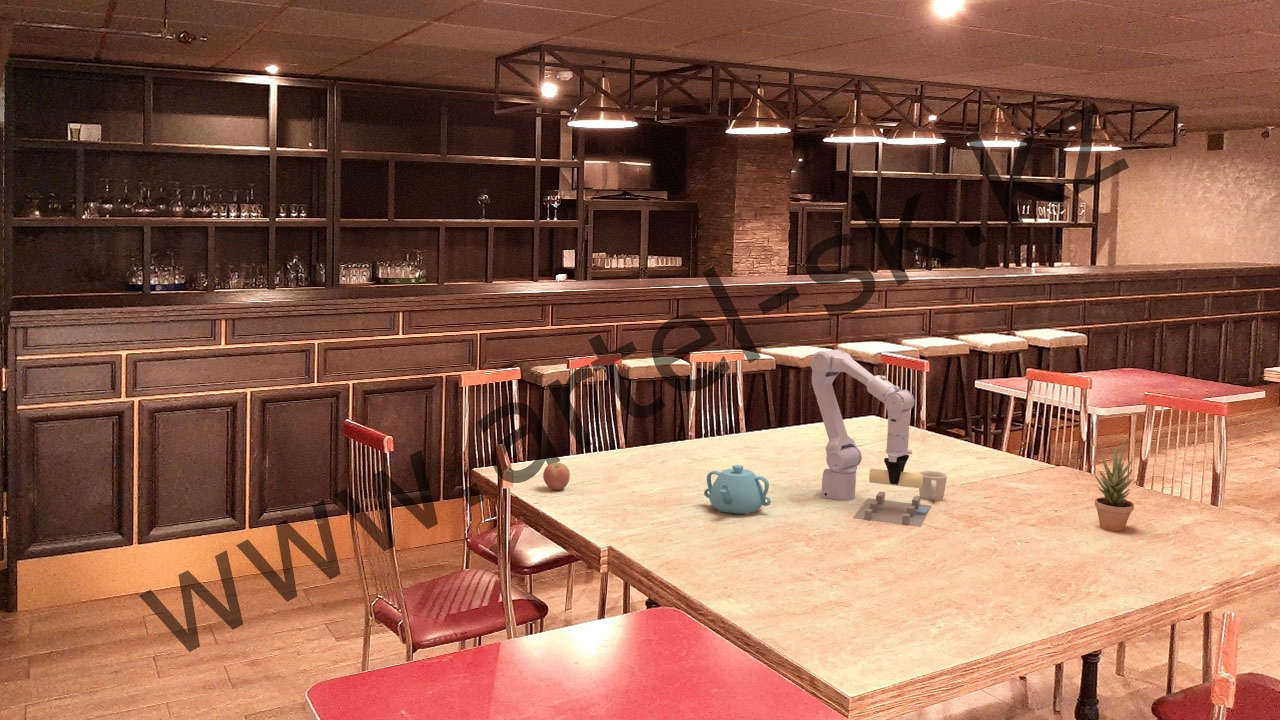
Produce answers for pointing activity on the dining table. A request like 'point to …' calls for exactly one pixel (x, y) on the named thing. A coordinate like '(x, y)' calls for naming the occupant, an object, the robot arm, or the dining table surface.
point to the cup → (933, 485)
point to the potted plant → (1114, 496)
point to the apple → (556, 476)
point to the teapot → (737, 491)
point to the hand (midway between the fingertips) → (895, 482)
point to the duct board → (893, 511)
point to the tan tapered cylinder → (905, 479)
